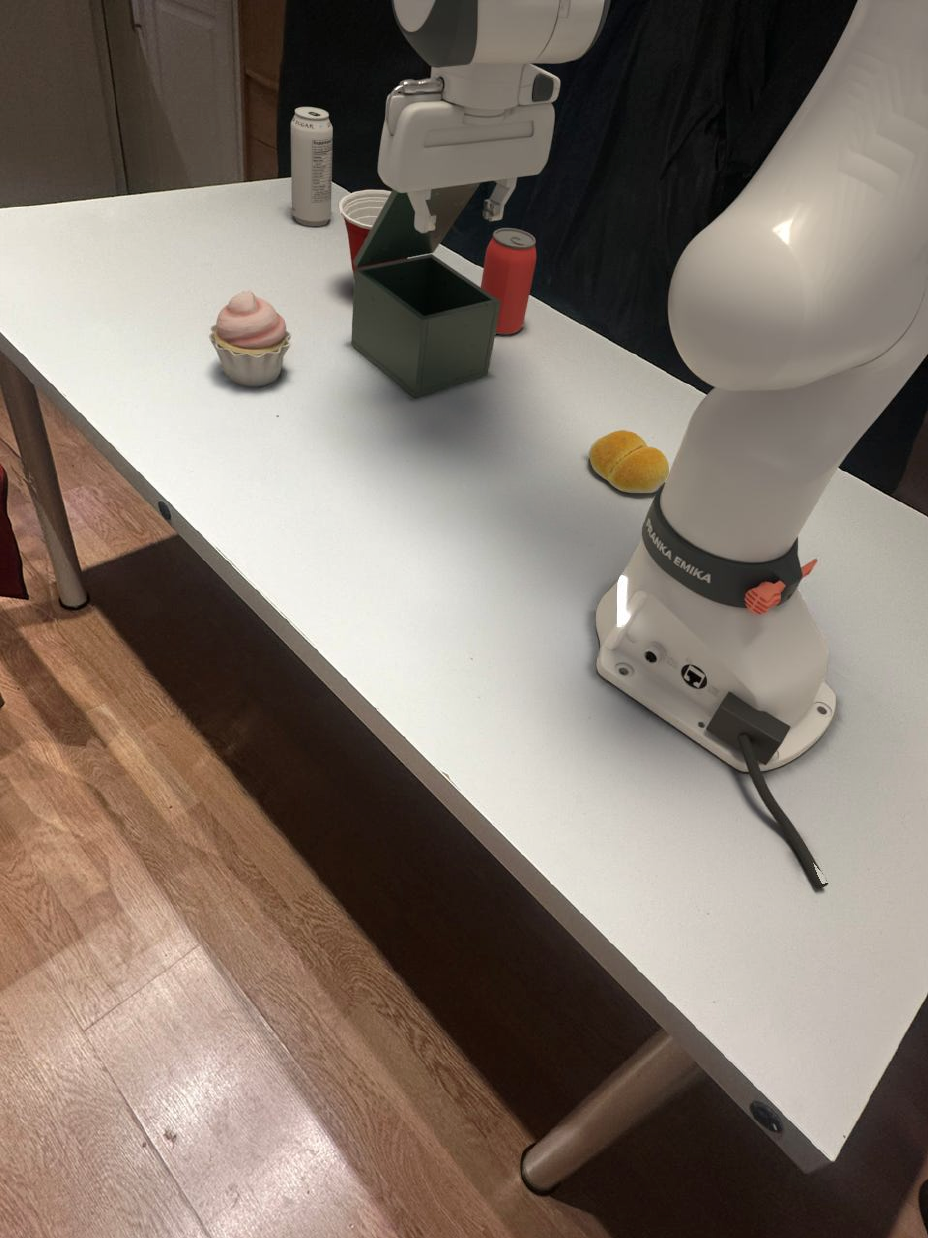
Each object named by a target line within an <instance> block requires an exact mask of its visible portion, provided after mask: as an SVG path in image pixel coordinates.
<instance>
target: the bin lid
mask: <svg viewBox="0 0 928 1238" xmlns="http://www.w3.org/2000/svg"><path fill="white" fill-rule="evenodd" d="M481 184H482V182H479V183H472V184H465V185H457V186H450V187H443V188H436V189H431V197H430V199H429V200H426V204H427V207H428V210H429V211H430V212H431V213H434V214H435V215H436V222H435V230H434V231H432V232H427V233H421V232H419V231H417V230H416V229H415V226H414V220H415V211H414V209H413V206H412V204H411V202H410V199H409V197H408V194H407V193H400V192H397V191H396V190H394V189H391V191H390V192H391V194H390V196H389V197H388V199H387V201H386V203H385V205H384V206H383V208H382V210H381V212H380V214H379V216H378V217H377V219H376V221H375V223H374V225H373V227H372V228H371V230H370V232H369V234H368V236H367V237H366V239H365V241H364V243H363V245H362V247H361V248H360V250H359V252H358V254H357V256H356V258H355V259H354V261H353V263H354V265H355V267H356V268H357V267H362V266H367V265H373V264H378V263H383V262H388V261H394V260H399V259H404V258H407V259H408V258H414V257H419V256H424V255H429V254H434V253H435V252H436V250H437V249H438V247H439V246H440V244H441V243H442V241H443V239H444V238H445V237H446V235H447V234H448V232H449V231H450V229H452V226H453V225H454V223H455V222H456V220H457V219H458V218H459V216H460V215H461V213H462V211H463V210H464V208H465V207H466V206H467V204H468V203H469V201H470V200H471V198H472V197H473V196H474V194H475V192H476V191H477V189H478V188H479V186H480V185H481Z"/></svg>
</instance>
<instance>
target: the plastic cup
mask: <svg viewBox="0 0 928 1238" xmlns="http://www.w3.org/2000/svg"><path fill="white" fill-rule="evenodd" d="M391 192H392V191H391V190H385V189H364V190H358V191H353V192H352V193H349V194H346V195H345V196H343V198H342V199H341V200H340V201H339V203H338V207H339V212H340V215H341V216H342V218H343V220H344V224H345V227H346V233H347V239H348V248H349V255H350V263H351V269H352V272H353V273H352V275H353V276H354V269H357V268H362V267H367V266H372V265H367V266H362V267H357V268H356V267H355V265H354V263H353V261H354V259H355V258H356V256H357V254H358V252H359V250H360V248H361V247H362V245H363V243H364V241H365V239H366V237H367V236H368V234H369V232H370V230H371V228H372V227H373V225H374V223H375V221H376V219H377V217H378V216H379V214H380V212H381V210H382V208H383V206H384V205H385V203H386V201H387V199H388V197H389V196H390V194H391ZM404 259H408V258H404ZM399 260H403V259H399ZM394 261H398V260H394ZM388 262H393V261H388ZM388 262H383V263H388ZM378 264H382V263H378ZM373 265H377V264H373Z"/></svg>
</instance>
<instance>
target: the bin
mask: <svg viewBox="0 0 928 1238" xmlns="http://www.w3.org/2000/svg"><path fill="white" fill-rule="evenodd" d="M352 292H353V295H352V314H351V315H352V316H351V341H350V345H351V346H352V348H354V349H355V350H357V351H358V352H359V353H360V354H361V355H362V356H364V357H365V358H366V359H367V360H368V361H370V362H371V363H372V364H373V365H374V366H375V367H377V368H378V369H379V370H380V371H382V372H383V373H384V374H385V375H387V377H388V378H390V379H392V381H393V382H395V383H396V384H397V385H398V386H399V387H401V388H402V389H403V390H404V391H406V392H407V393H408V394H409V395H410V396H412V398H414V399H415V398H418V397H422V396H425V395H428V394H429V395H430V394H432V393H434V392H438V391H441V390H445V389H448V388H451V387H455V386H459V385H461V384H465V383H469V382H471V381H475V380H478V379H482V378H486V377H488V376H489V371H490V366H491V360H492V356H493V348H494V342H495V339H496V338H495V337H496V333H495V332H496V327H497V321H498V316H499V310H500V304H501V301H500V300H498V299H497V298H495V297H494V296H492V295H491V294H489V293H488V292H486V291H485V290H483V289H482V288H481V286H479V285H478V284H476V283H475V282H473V281H472V280H470V279H469V278H468V277H466V276H464V275H463V274H461V273H460V272H459V271H457V270H456V269H454V268H453V267H451V266H450V265H449V264H447V263H446V262H444V261H442V260H441V259H440V258H439V257H437V256H435V255H434V254H433V253H430V254H425V255H420V256H415V257H409V258H407V259H403V260H398V261H393V262H388V263H382V264H377V265H372V266H367V267H362V268H357V269H354V275H353V291H352Z"/></svg>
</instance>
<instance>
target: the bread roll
mask: <svg viewBox="0 0 928 1238" xmlns="http://www.w3.org/2000/svg"><path fill="white" fill-rule="evenodd" d="M589 461H590V465H591V467H592V469H593V470H594V472H595V473H596V474H597V475H598V476H600V477H601V478H603V479H604V480H606V481H607V482H608V483H609V485H611V486H612V487H614V489H617V490H618V491H619V492H620V491H621V492H622V493H628V494H652V493H656V492H657V490H658V489H659V488H660V486H661V485H663V484H664V483H665V482H666V480H667V477H668V475H669V472H670V470H669V469H670V467H669V466H670V465H669V461H668V459H667V457H666V455H665V454H664V452H663V451H662V450H660V449H658V448H657V447H654V446H648V444H647V442H646V441H645V440H644V439H643V438H642V437H641V436H640V435H638V434H637V433H636V432H633V431H630V430H624V429H623V430H622V429H620V430H616V431H613V432H610V433H608V434H606V435H603V436H601V437H600V438H598V439H597V440H595V441H594V442H593V443H592V444H591V445H590V448H589Z"/></svg>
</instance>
